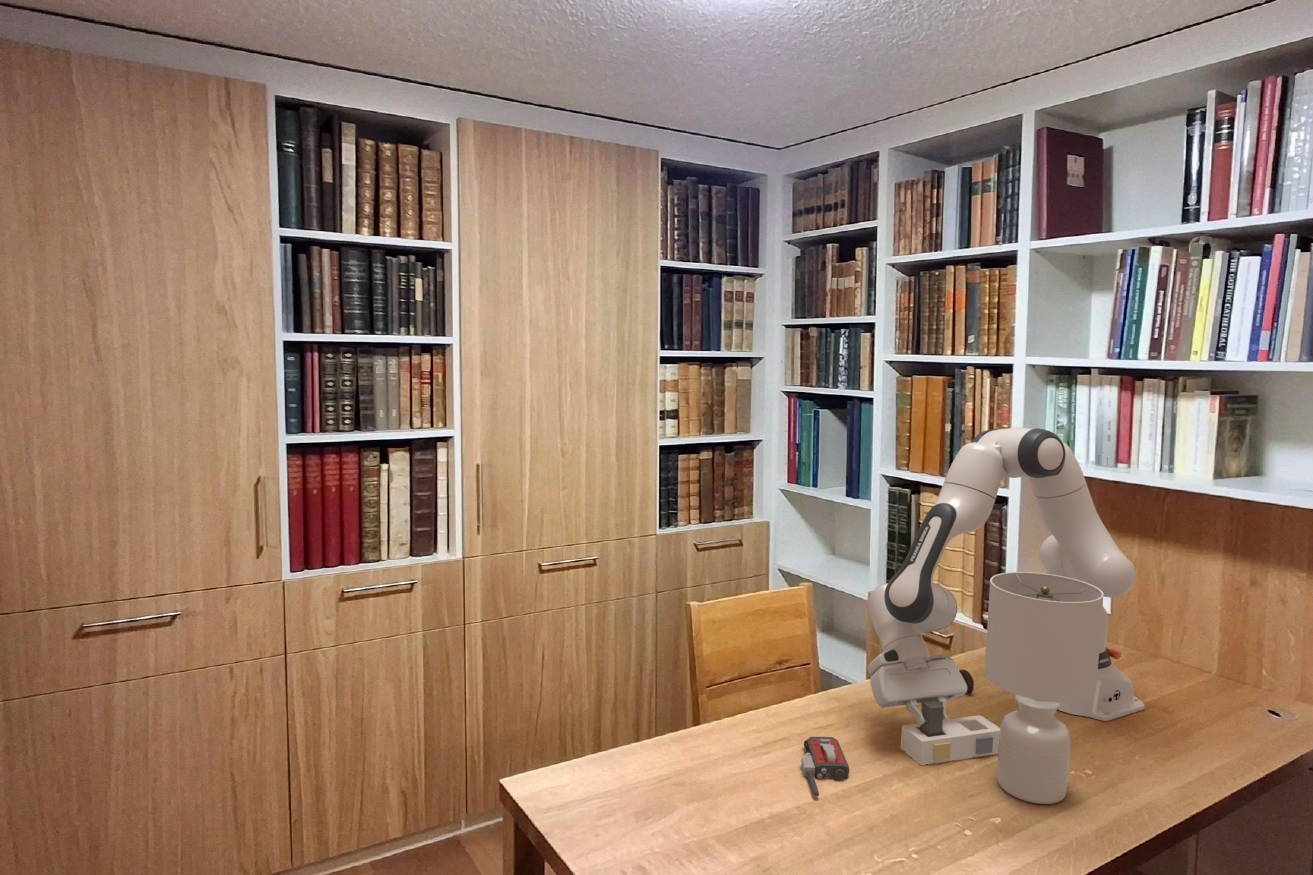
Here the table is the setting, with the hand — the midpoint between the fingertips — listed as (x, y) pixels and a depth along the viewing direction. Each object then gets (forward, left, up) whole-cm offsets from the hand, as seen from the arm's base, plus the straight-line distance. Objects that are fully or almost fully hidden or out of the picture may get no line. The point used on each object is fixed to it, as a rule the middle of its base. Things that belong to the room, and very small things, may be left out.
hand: (933, 722), depth 164 cm
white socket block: (-5, -1, -7) cm, 9 cm away
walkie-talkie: (+24, 0, -8) cm, 25 cm away
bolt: (-20, -26, -7) cm, 34 cm away
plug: (0, -1, -4) cm, 4 cm away
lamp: (-11, +15, -7) cm, 20 cm away
